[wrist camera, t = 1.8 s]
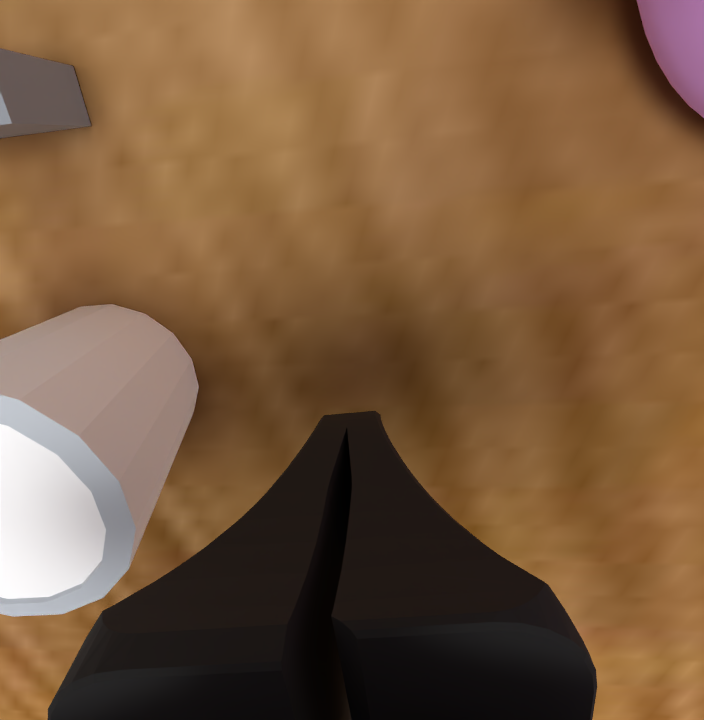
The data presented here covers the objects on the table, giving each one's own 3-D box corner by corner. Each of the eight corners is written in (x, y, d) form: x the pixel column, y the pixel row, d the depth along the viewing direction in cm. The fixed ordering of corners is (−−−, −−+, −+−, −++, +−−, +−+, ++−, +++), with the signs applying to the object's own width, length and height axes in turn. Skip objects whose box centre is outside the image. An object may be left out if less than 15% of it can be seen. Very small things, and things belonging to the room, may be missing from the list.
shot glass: (2, 411, 18) (-192, 559, 12) (47, 247, 16) (-170, 325, 9) (177, 484, 19) (87, 654, 13) (246, 344, 17) (176, 471, 10)
